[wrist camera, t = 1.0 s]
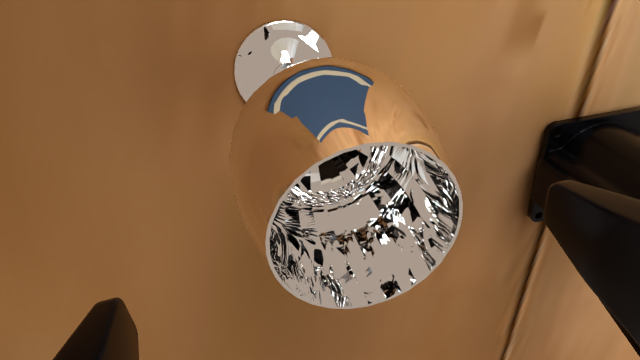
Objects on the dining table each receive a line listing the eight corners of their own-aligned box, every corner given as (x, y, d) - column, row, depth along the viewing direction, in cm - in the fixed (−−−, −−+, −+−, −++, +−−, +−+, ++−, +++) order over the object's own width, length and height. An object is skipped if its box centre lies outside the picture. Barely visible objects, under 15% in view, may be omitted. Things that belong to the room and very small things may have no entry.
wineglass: (234, -16, 18) (278, 85, 8) (365, 24, 20) (529, 144, 10) (206, 117, 21) (213, 319, 11) (324, 141, 23) (425, 330, 13)
